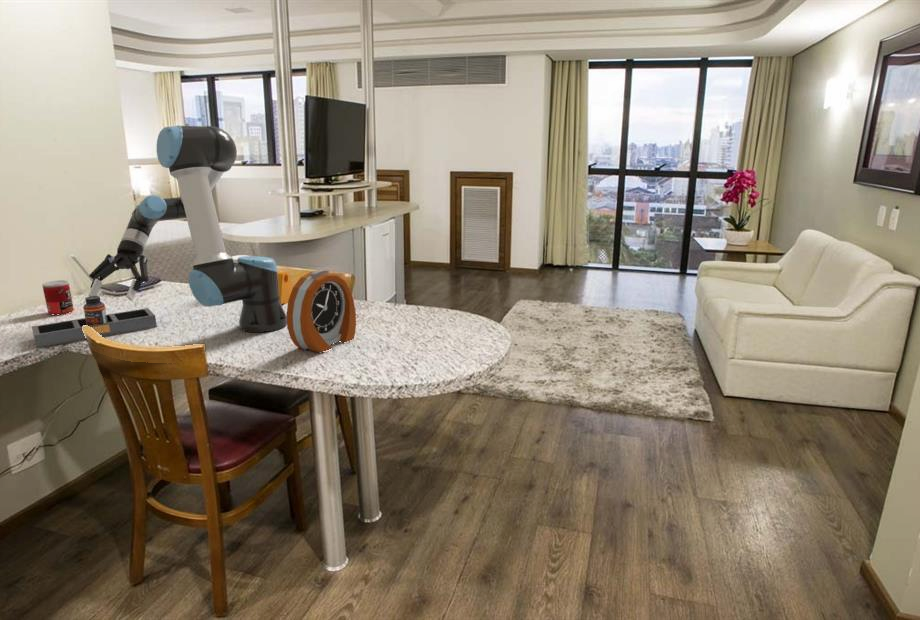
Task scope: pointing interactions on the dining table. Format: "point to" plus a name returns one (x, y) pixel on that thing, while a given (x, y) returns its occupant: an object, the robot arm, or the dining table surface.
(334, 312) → the alarm clock
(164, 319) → the dining table surface
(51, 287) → the canned food
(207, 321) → the dining table surface
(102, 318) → the supplement bottle
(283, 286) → the yellow cheese block
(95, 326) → the compartment tray
